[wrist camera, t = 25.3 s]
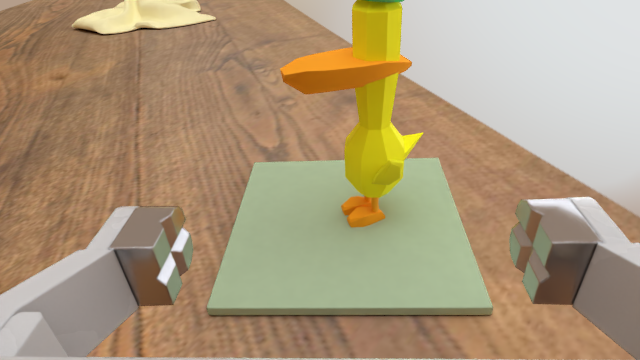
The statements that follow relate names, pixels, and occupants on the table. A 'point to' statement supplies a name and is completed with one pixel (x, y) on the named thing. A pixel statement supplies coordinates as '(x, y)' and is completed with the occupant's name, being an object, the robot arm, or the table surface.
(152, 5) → the cloth
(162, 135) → the table surface
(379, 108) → the toy figure
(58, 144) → the table surface
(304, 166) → the felt mat
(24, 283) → the robot arm
